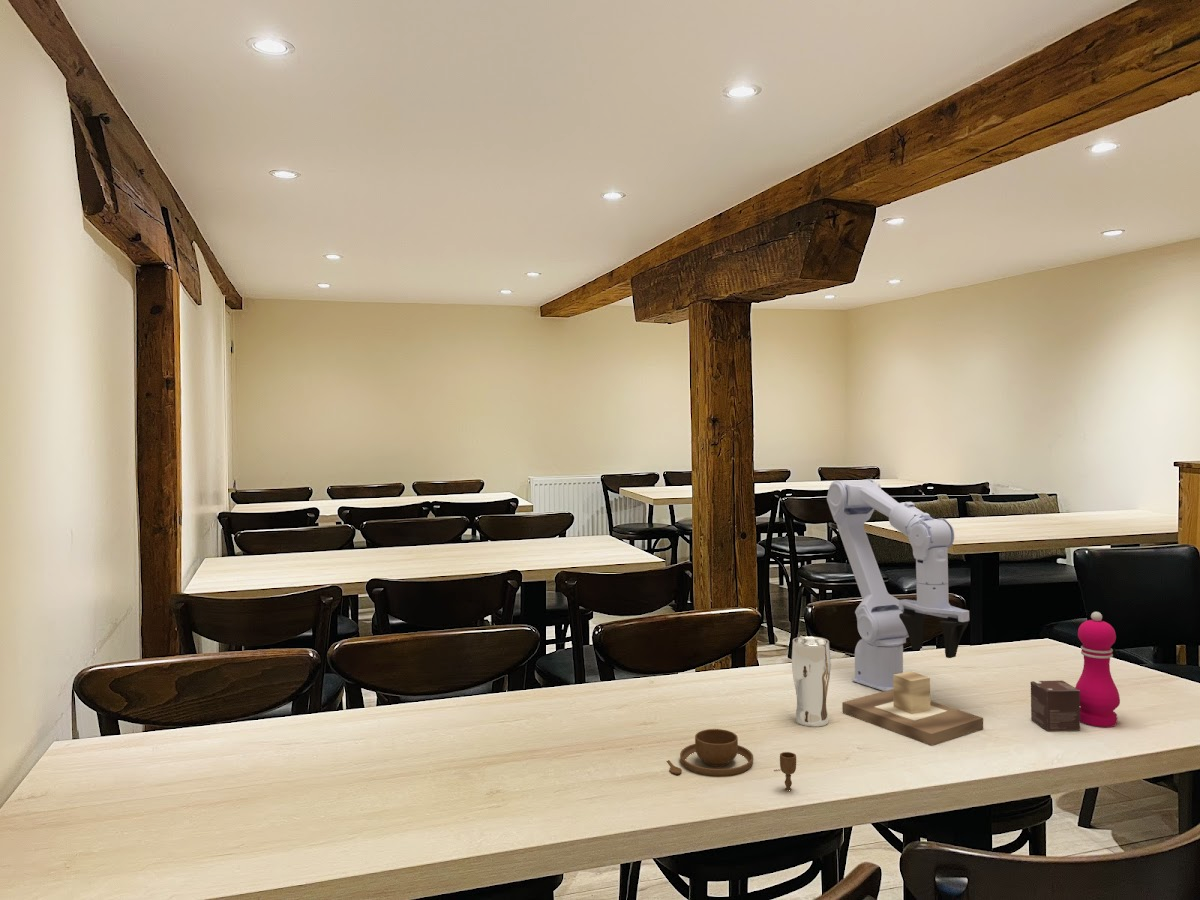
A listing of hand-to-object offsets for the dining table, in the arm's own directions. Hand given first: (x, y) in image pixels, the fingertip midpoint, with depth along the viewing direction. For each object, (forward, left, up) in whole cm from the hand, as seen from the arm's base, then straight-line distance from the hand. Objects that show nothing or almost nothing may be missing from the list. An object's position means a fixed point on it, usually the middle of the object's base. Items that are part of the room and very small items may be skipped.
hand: (933, 653), depth 165 cm
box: (+19, +9, -11) cm, 23 cm away
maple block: (+3, -10, -8) cm, 13 cm away
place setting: (+1, -52, -11) cm, 54 cm away
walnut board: (+3, -10, -10) cm, 15 cm away
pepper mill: (+22, +17, -11) cm, 29 cm away
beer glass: (-7, -25, -11) cm, 28 cm away
